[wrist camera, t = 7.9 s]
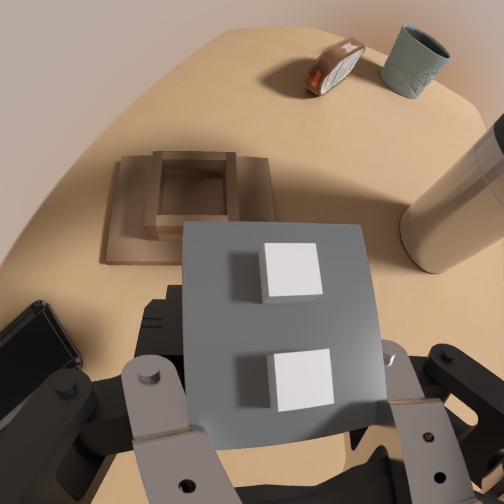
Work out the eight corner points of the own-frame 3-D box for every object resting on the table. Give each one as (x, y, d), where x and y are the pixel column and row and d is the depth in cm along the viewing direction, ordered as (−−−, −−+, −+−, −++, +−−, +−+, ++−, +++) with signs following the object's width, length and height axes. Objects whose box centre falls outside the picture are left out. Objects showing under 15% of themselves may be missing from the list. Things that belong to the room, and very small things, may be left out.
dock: (266, 163, 34) (273, 140, 31) (277, 264, 30) (288, 248, 26) (123, 162, 31) (117, 138, 28) (108, 264, 27) (96, 248, 23)
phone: (84, 365, 22) (-9, 441, 17) (88, 365, 24) (-3, 439, 18) (42, 294, 24) (-44, 373, 18) (46, 297, 25) (-38, 374, 19)
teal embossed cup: (373, 62, 50) (396, 18, 39) (414, 80, 51) (440, 40, 40) (382, 90, 46) (412, 41, 35) (427, 109, 47) (459, 66, 36)
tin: (339, 66, 46) (356, 30, 39) (354, 76, 46) (372, 40, 38) (296, 95, 40) (313, 50, 33) (314, 107, 40) (334, 61, 32)
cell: (274, 306, 15) (373, 210, 6) (282, 399, 14) (406, 424, 5) (190, 308, 15) (180, 204, 6) (194, 404, 13) (187, 462, 4)
